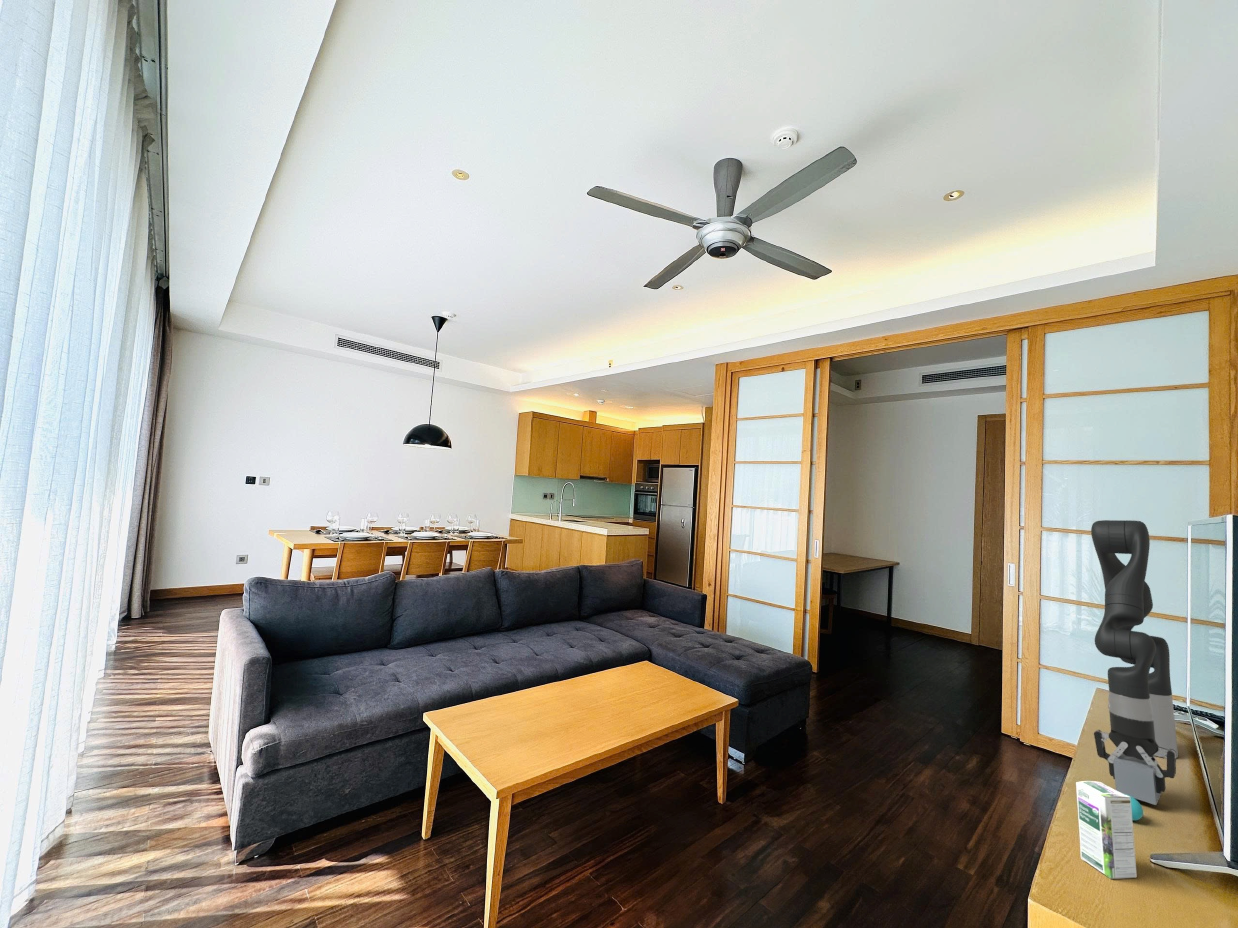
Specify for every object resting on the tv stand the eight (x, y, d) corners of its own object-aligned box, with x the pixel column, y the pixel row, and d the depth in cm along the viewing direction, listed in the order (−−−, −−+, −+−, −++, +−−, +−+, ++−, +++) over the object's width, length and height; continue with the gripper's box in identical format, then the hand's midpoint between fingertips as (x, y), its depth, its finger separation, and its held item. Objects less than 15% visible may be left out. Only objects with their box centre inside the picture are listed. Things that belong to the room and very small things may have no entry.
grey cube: (1121, 783, 123) (1118, 752, 123) (1160, 795, 117) (1157, 763, 118) (1115, 791, 119) (1113, 759, 119) (1156, 804, 113) (1152, 771, 114)
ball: (1110, 817, 111) (1114, 805, 114) (1142, 829, 107) (1146, 816, 110) (1107, 796, 111) (1112, 784, 114) (1139, 807, 107) (1143, 794, 110)
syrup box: (1079, 858, 97) (1073, 780, 98) (1106, 857, 97) (1100, 779, 99) (1110, 879, 91) (1103, 796, 92) (1139, 878, 91) (1132, 795, 93)
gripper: (1176, 719, 116) (1184, 794, 115) (1094, 700, 128) (1099, 768, 126) (1172, 727, 112) (1180, 804, 110) (1087, 706, 124) (1092, 776, 122)
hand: (1137, 785), depth 118 cm, fingers closed on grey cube, 6 cm apart
